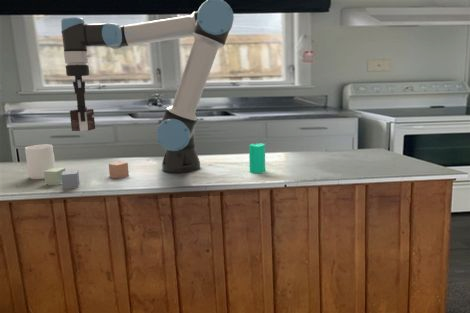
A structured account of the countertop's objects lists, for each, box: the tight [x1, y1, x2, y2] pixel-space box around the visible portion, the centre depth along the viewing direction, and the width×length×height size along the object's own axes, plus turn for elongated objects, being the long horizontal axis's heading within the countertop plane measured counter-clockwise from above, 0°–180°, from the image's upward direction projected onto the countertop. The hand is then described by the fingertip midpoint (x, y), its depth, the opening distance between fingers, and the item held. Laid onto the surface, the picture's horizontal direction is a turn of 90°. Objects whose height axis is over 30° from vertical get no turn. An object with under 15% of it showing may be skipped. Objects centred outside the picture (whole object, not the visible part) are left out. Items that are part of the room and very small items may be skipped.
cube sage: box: [44, 167, 66, 186], centre depth 146 cm, size 5×5×5 cm
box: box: [69, 108, 96, 132], centre depth 146 cm, size 6×6×7 cm
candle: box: [248, 142, 266, 174], centre depth 155 cm, size 6×6×12 cm
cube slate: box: [61, 169, 81, 190], centre depth 142 cm, size 5×5×5 cm
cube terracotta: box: [108, 161, 130, 179], centre depth 154 cm, size 5×5×5 cm
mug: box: [24, 143, 56, 180], centre depth 157 cm, size 10×12×12 cm
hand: (83, 129), depth 147 cm, fingers closed on box, 8 cm apart
